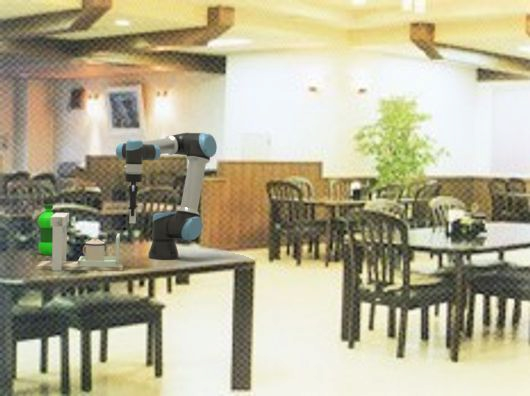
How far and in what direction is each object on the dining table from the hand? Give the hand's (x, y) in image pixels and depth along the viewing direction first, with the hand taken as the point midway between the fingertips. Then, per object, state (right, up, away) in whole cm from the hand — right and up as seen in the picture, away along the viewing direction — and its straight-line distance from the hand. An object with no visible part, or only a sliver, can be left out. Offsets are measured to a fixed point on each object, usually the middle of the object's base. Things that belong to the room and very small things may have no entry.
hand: (132, 222), depth 436 cm
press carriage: (-15, -19, -1) cm, 25 cm away
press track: (-23, -21, -1) cm, 31 cm away
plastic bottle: (-48, -17, +40) cm, 65 cm away
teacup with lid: (-18, -18, -1) cm, 26 cm away
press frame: (-33, -20, -3) cm, 39 cm away
